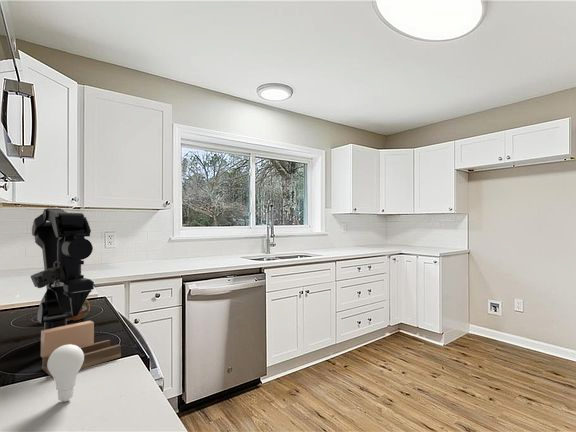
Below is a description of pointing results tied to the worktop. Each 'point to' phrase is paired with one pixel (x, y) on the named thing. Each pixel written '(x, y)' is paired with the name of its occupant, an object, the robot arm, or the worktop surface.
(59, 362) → the lightbulb
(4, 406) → the worktop surface
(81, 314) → the tin
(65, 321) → the robot arm
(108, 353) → the track
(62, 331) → the tan rectangular block
